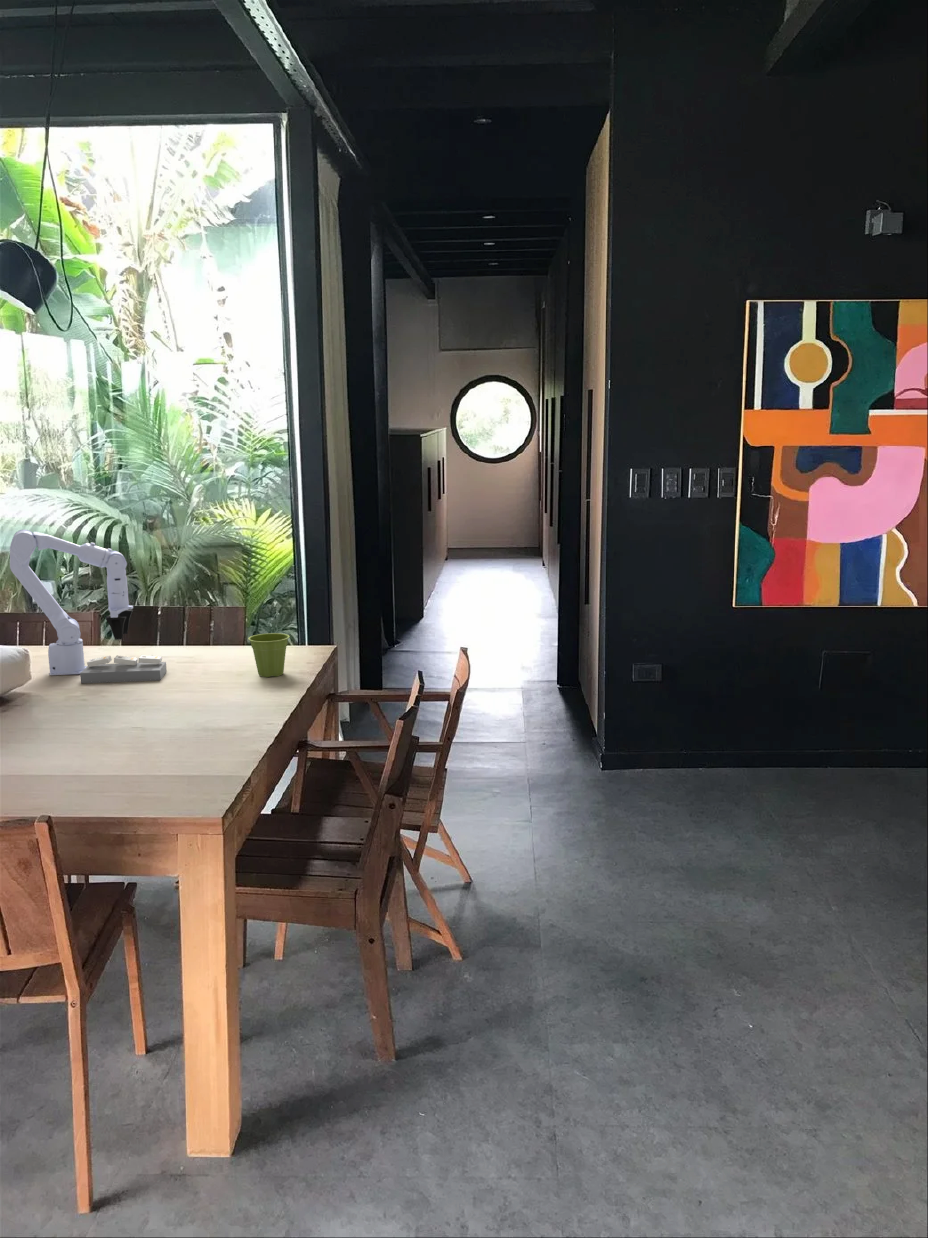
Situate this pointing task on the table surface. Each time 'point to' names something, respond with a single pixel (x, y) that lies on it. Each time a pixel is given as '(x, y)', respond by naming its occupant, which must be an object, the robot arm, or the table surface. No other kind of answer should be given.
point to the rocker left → (99, 661)
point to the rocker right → (150, 659)
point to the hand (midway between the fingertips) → (121, 636)
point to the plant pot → (269, 653)
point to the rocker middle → (126, 660)
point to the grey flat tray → (123, 672)
